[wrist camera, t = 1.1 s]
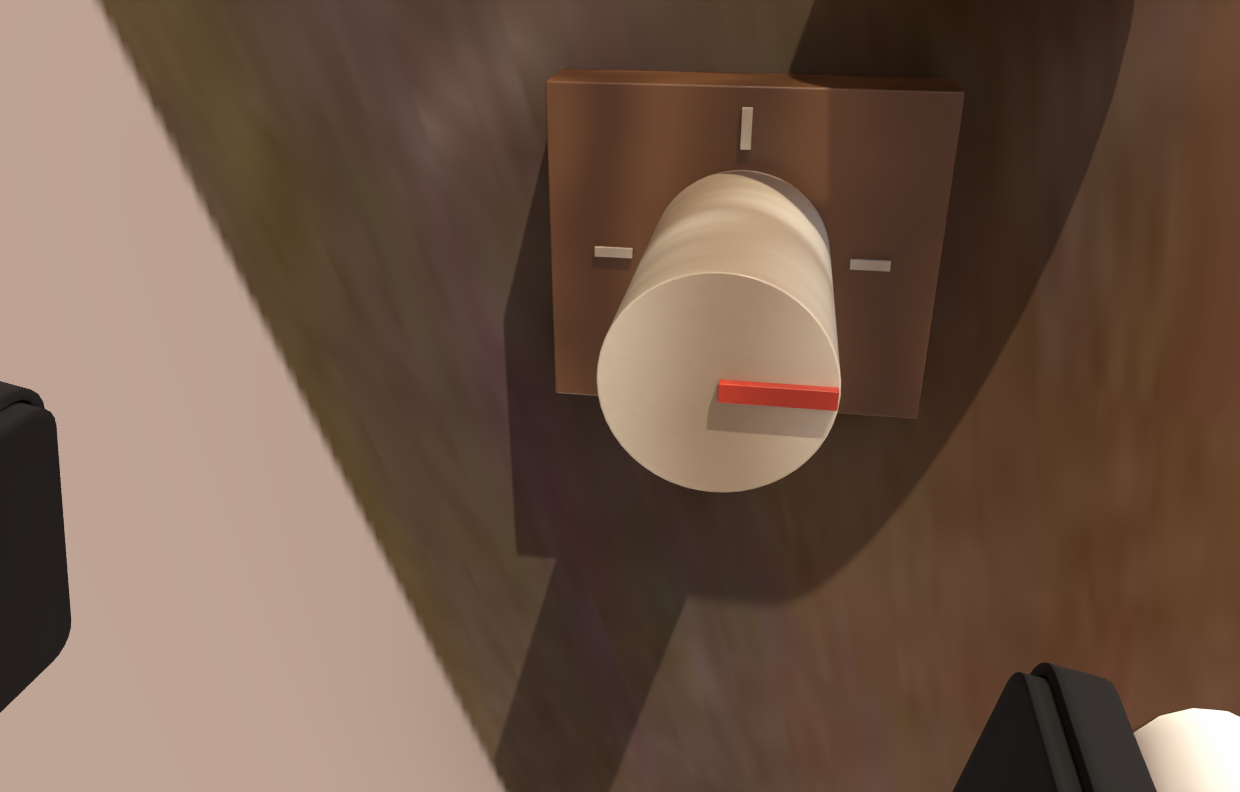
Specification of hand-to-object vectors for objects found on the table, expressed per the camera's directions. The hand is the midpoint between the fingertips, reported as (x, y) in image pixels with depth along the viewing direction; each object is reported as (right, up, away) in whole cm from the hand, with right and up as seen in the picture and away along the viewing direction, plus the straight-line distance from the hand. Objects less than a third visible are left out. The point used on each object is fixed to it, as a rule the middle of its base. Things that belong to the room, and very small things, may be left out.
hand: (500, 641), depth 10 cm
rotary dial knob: (+5, +7, +26) cm, 28 cm away
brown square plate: (+6, +9, +29) cm, 31 cm away
